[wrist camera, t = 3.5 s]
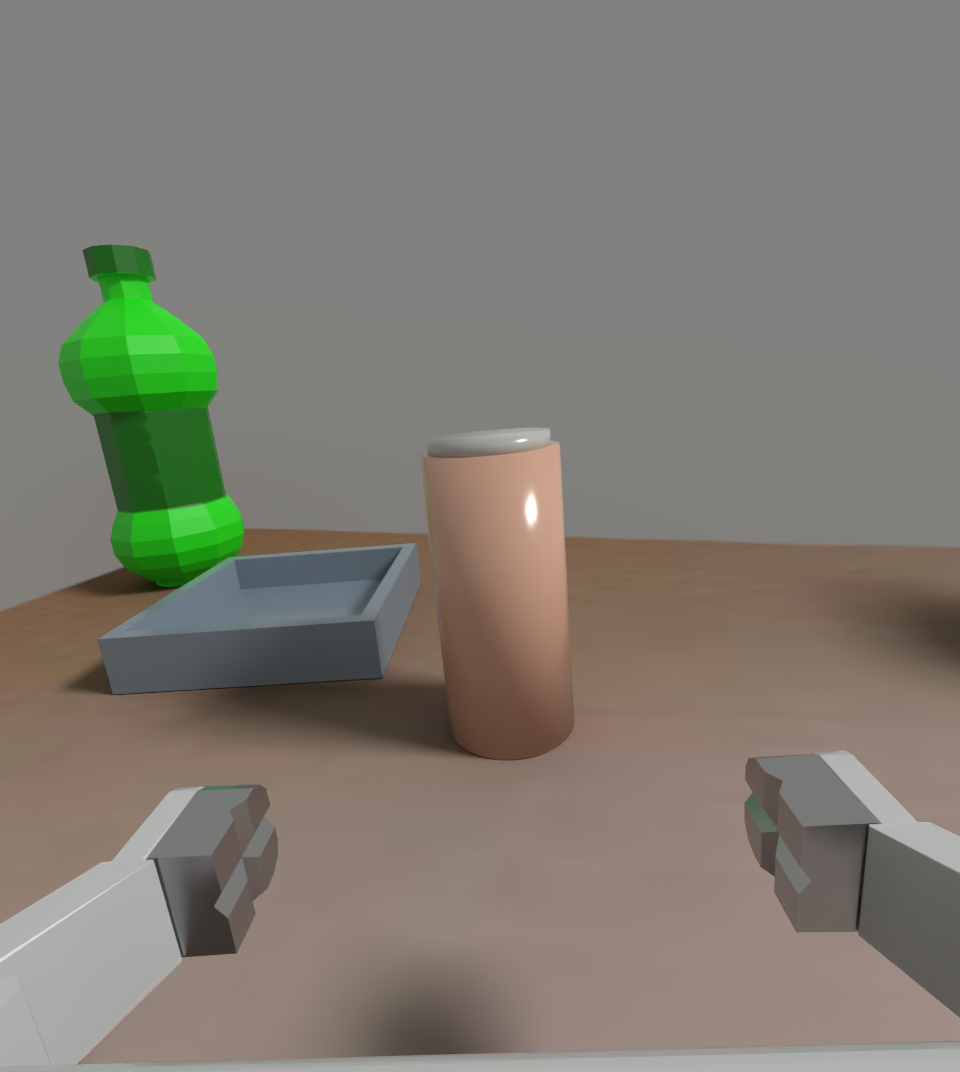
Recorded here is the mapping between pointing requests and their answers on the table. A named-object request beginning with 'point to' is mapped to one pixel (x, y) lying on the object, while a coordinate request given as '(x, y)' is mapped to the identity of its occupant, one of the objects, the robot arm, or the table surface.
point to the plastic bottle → (152, 423)
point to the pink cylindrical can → (501, 588)
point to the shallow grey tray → (270, 622)
